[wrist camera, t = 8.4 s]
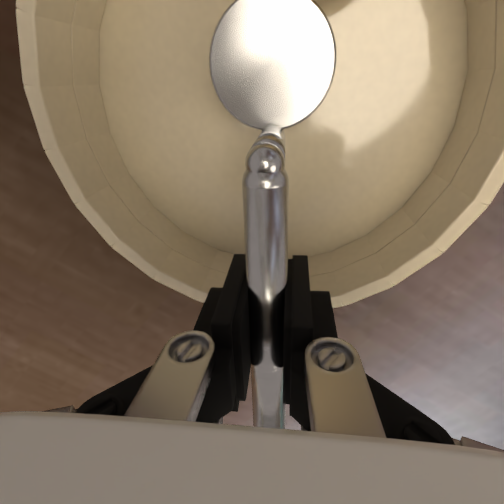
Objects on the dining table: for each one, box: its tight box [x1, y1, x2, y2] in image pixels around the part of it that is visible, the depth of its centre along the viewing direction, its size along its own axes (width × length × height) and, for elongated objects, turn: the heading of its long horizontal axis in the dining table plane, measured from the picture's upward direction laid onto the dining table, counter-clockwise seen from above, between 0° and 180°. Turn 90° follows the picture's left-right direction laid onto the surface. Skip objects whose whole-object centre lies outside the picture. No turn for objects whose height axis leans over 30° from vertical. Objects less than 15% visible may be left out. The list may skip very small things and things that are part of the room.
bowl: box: [15, 0, 504, 308], centre depth 12 cm, size 16×16×4 cm
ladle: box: [209, 0, 337, 429], centre depth 13 cm, size 18×4×7 cm, turn 2°
